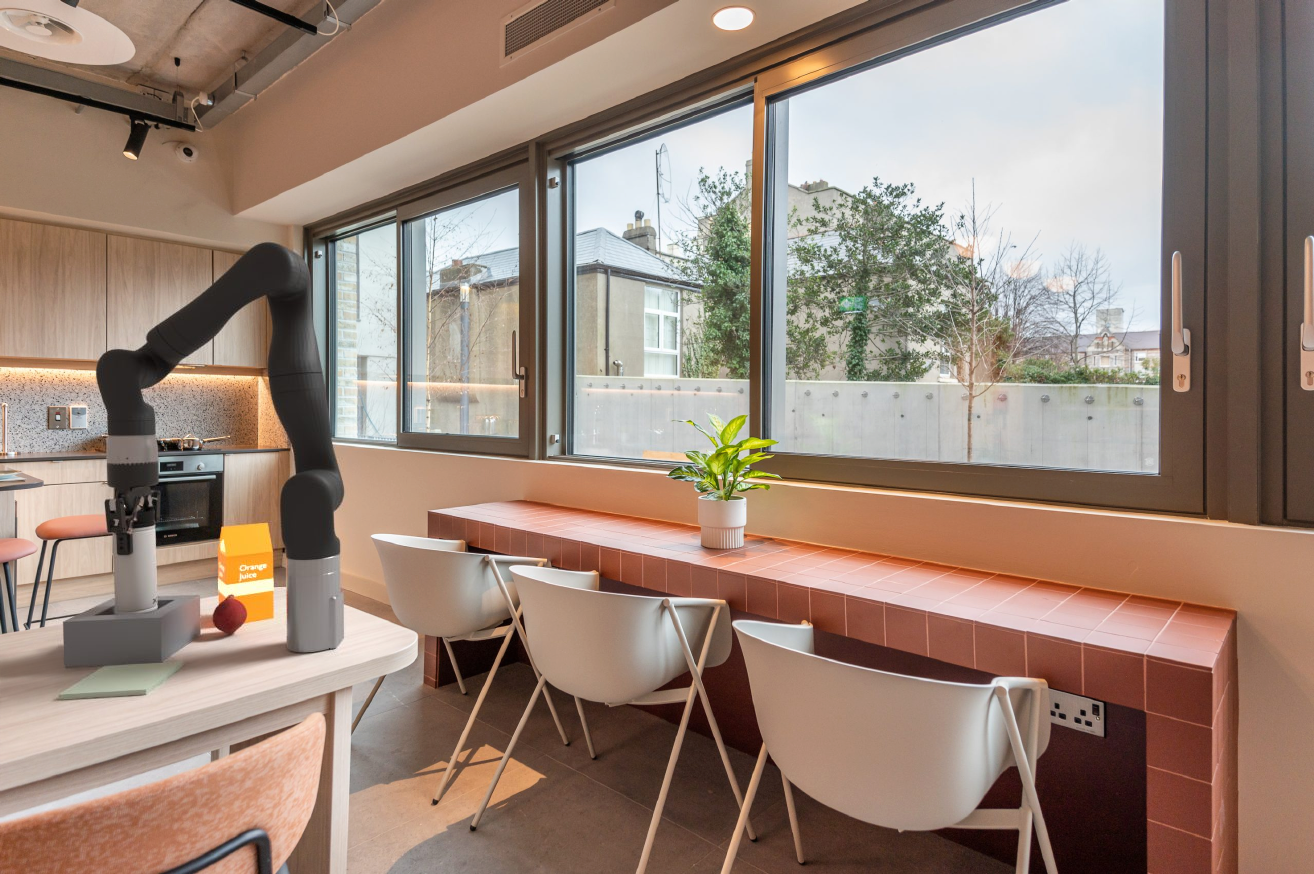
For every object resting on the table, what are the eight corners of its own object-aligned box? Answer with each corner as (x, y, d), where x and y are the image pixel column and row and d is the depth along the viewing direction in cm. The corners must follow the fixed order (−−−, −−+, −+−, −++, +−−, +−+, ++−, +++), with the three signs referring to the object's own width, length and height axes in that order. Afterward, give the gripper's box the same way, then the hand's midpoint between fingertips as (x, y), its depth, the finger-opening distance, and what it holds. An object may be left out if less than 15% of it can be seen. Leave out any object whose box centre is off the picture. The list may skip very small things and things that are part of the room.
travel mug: (167, 613, 129) (164, 506, 129) (128, 623, 123) (124, 511, 123) (147, 609, 132) (144, 504, 131) (107, 618, 126) (104, 509, 125)
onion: (230, 640, 134) (230, 599, 133) (205, 637, 135) (204, 597, 135) (254, 630, 139) (253, 591, 139) (229, 628, 141) (228, 589, 140)
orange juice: (218, 617, 148) (217, 524, 147) (264, 609, 154) (263, 520, 153) (226, 626, 142) (225, 529, 141) (274, 618, 148) (273, 525, 147)
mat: (183, 666, 120) (183, 661, 120) (146, 694, 109) (146, 689, 109) (104, 670, 118) (104, 665, 118) (58, 699, 106) (58, 694, 106)
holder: (200, 634, 137) (199, 594, 136) (161, 662, 122) (160, 617, 122) (114, 638, 134) (113, 597, 133) (64, 667, 119) (63, 621, 119)
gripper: (134, 462, 120) (137, 558, 121) (175, 457, 134) (177, 542, 135) (84, 463, 119) (88, 560, 119) (131, 457, 133) (134, 544, 133)
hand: (135, 550), depth 127 cm, fingers closed on travel mug, 6 cm apart
